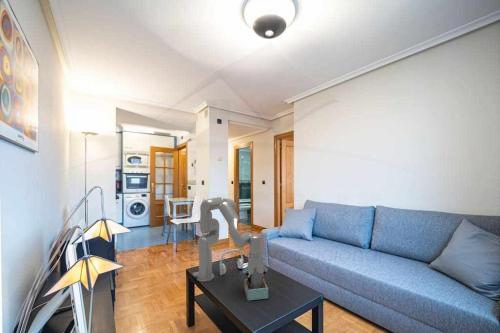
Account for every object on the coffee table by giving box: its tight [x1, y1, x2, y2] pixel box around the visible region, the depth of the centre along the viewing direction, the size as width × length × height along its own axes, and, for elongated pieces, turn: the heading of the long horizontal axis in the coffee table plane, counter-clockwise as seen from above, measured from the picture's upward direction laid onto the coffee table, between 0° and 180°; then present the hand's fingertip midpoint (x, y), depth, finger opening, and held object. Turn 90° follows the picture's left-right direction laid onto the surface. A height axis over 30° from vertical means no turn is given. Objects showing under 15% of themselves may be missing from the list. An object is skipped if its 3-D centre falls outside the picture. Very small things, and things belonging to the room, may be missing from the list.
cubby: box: [243, 277, 269, 299], centre depth 140 cm, size 13×12×7 cm
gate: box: [246, 287, 269, 301], centre depth 133 cm, size 13×1×6 cm, turn 100°
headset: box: [219, 248, 244, 276], centre depth 169 cm, size 20×7×18 cm, turn 123°
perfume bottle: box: [248, 268, 264, 290], centre depth 140 cm, size 7×7×18 cm
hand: (255, 281), depth 139 cm, fingers closed on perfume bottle, 7 cm apart
